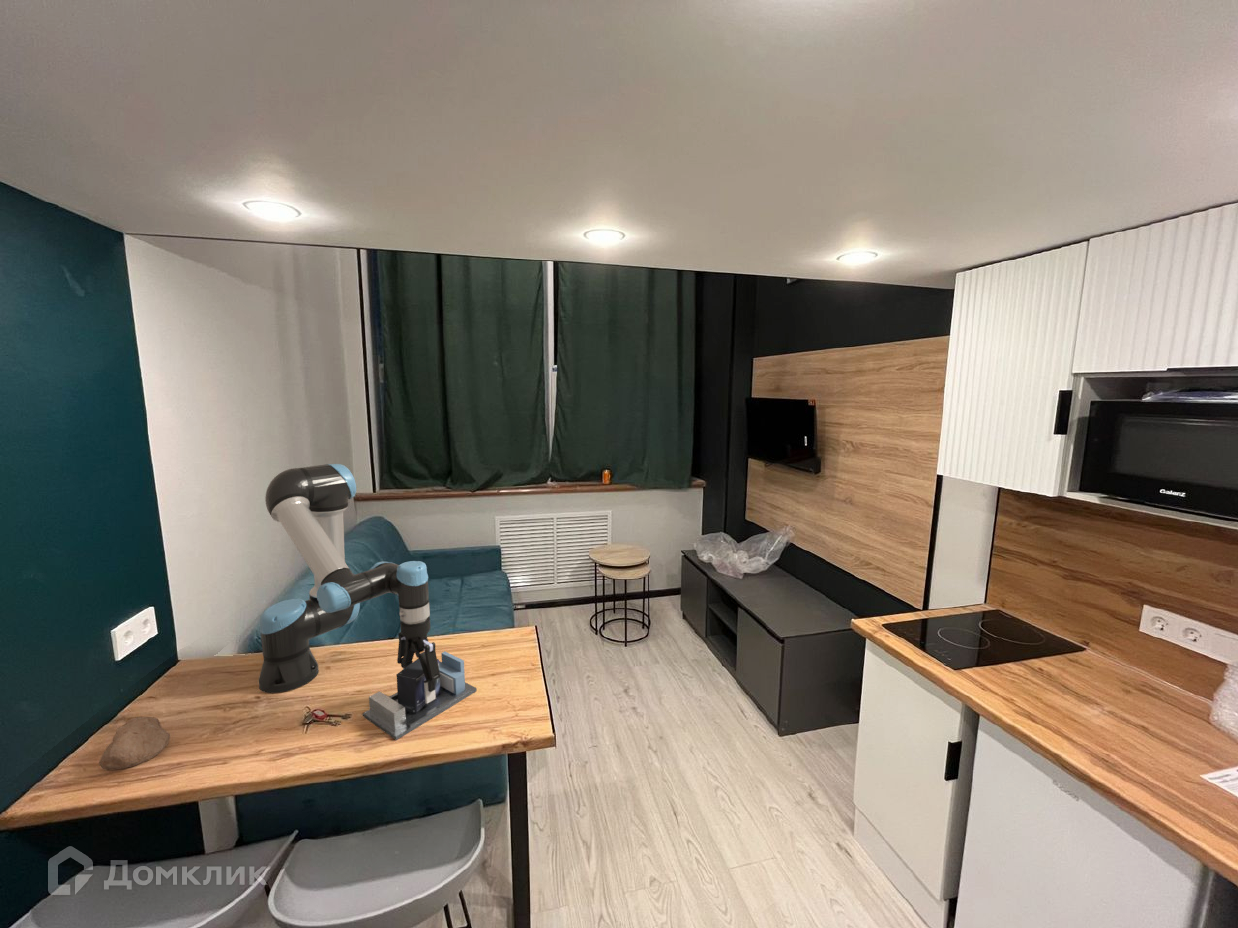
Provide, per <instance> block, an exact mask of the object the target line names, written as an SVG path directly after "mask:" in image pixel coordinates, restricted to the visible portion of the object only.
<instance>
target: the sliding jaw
mask: <svg viewBox="0 0 1238 928" xmlns="http://www.w3.org/2000/svg"><path fill="white" fill-rule="evenodd" d="M439 672H440V686H441V687H443V688H445V689H447V690H449V691H450V692H452V693H454V694H456V695H457V694H458V693H460V692H462V691H463V690H465V682H466V678H465V675H466V674H465V660H464V659H462V658H460V657H457V656H455V655H453V654H450V653H449V652H447V651H442V652H441V661H440V660H439Z"/></svg>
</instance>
